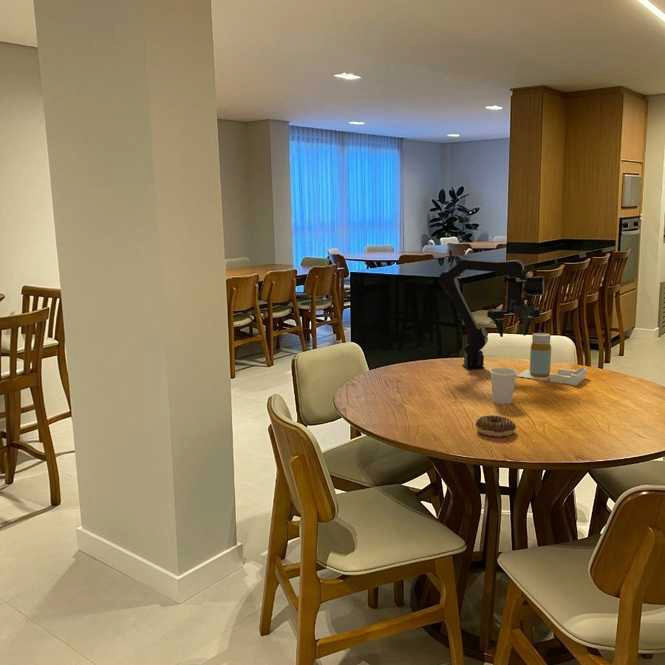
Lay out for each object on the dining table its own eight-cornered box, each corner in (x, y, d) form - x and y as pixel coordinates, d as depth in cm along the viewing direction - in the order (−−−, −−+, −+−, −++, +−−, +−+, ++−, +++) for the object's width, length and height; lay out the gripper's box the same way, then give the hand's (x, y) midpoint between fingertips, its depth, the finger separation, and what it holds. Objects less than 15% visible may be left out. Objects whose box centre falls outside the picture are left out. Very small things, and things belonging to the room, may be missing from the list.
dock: (548, 381, 230) (549, 371, 229) (559, 374, 239) (559, 364, 239) (576, 385, 225) (576, 374, 224) (585, 378, 234) (586, 367, 233)
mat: (516, 376, 237) (516, 375, 237) (526, 370, 246) (526, 369, 246) (546, 381, 231) (546, 380, 231) (556, 374, 240) (556, 373, 240)
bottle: (552, 374, 239) (553, 333, 236) (547, 378, 233) (549, 336, 230) (532, 371, 242) (534, 331, 240) (527, 376, 237) (528, 335, 234)
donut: (467, 433, 179) (468, 418, 179) (488, 423, 187) (489, 410, 186) (502, 442, 172) (502, 427, 171) (522, 432, 179) (523, 418, 178)
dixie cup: (519, 405, 203) (520, 374, 201) (491, 405, 203) (492, 374, 201) (512, 397, 211) (513, 367, 209) (486, 398, 211) (487, 367, 209)
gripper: (500, 298, 232) (499, 341, 235) (549, 296, 236) (547, 338, 239) (487, 294, 243) (486, 336, 246) (533, 292, 247) (531, 333, 250)
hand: (513, 336), depth 245 cm, fingers open, 9 cm apart
